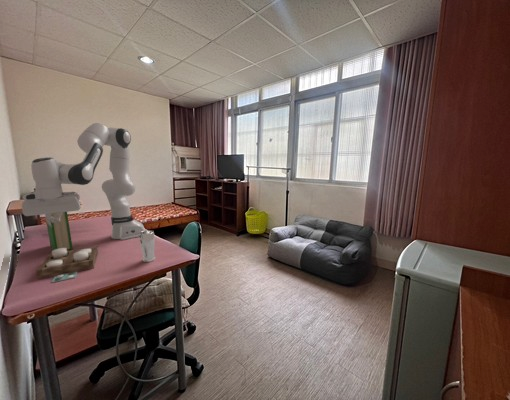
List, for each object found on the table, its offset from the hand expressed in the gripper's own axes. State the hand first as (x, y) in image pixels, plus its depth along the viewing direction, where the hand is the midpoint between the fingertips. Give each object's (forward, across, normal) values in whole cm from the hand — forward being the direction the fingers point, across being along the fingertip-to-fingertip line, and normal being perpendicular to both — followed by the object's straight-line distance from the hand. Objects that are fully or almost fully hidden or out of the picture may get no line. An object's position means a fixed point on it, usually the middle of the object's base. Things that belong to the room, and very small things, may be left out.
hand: (56, 222), depth 104 cm
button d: (+21, +2, +6) cm, 22 cm away
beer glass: (+24, -36, +14) cm, 46 cm away
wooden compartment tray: (+23, -3, +1) cm, 23 cm away
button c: (+19, -8, +6) cm, 21 cm away
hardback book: (+23, +7, -30) cm, 39 cm away
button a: (+22, -8, -4) cm, 23 cm away
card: (+22, -2, +15) cm, 27 cm away
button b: (+19, +2, -4) cm, 20 cm away
